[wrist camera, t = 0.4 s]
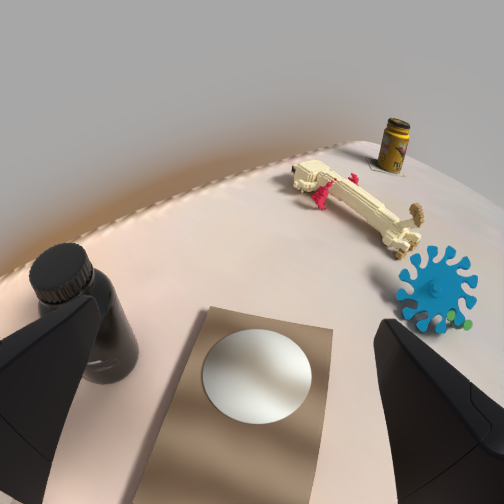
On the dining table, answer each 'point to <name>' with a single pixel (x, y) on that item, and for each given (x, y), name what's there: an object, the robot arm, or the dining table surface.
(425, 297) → the blue lumpy piece
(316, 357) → the walnut board
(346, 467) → the dining table surface
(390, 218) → the cat figure
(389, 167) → the condiment
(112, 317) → the supplement bottle
